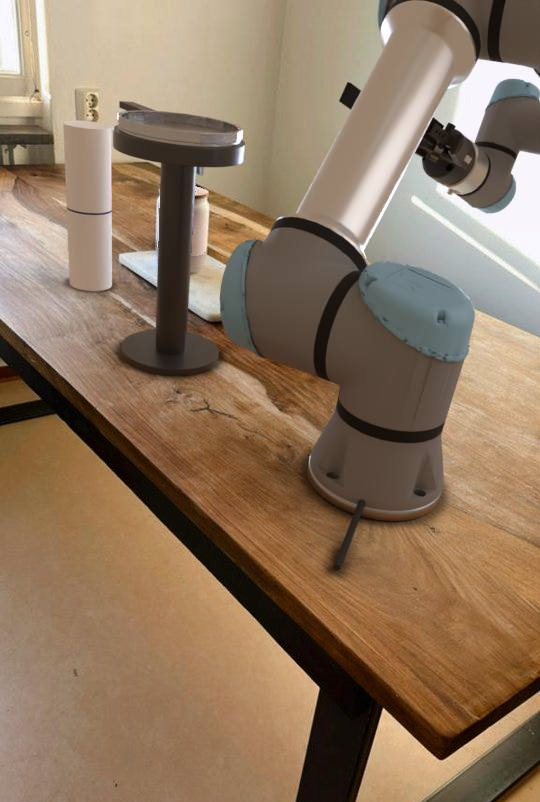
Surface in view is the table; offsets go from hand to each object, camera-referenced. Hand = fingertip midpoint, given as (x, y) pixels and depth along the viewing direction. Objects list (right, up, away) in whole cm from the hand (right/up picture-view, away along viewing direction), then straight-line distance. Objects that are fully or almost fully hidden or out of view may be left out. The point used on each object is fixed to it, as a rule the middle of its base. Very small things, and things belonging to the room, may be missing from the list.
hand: (376, 102), depth 95 cm
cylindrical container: (-46, -18, +25) cm, 55 cm away
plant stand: (-31, -32, +8) cm, 45 cm away
